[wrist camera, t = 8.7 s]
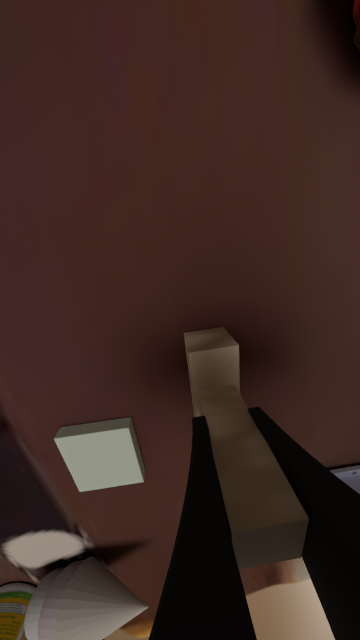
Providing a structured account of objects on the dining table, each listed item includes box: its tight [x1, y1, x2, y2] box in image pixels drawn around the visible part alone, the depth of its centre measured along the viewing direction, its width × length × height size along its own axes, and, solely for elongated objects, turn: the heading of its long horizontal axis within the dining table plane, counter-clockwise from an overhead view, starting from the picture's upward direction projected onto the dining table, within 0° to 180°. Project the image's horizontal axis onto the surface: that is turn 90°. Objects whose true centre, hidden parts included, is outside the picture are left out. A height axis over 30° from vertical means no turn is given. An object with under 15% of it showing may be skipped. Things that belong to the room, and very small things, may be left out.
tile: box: [54, 417, 145, 492], centre depth 16 cm, size 2×7×6 cm
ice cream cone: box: [24, 556, 148, 640], centre depth 19 cm, size 6×6×15 cm
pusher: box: [184, 327, 309, 569], centre depth 10 cm, size 3×8×9 cm, turn 7°
